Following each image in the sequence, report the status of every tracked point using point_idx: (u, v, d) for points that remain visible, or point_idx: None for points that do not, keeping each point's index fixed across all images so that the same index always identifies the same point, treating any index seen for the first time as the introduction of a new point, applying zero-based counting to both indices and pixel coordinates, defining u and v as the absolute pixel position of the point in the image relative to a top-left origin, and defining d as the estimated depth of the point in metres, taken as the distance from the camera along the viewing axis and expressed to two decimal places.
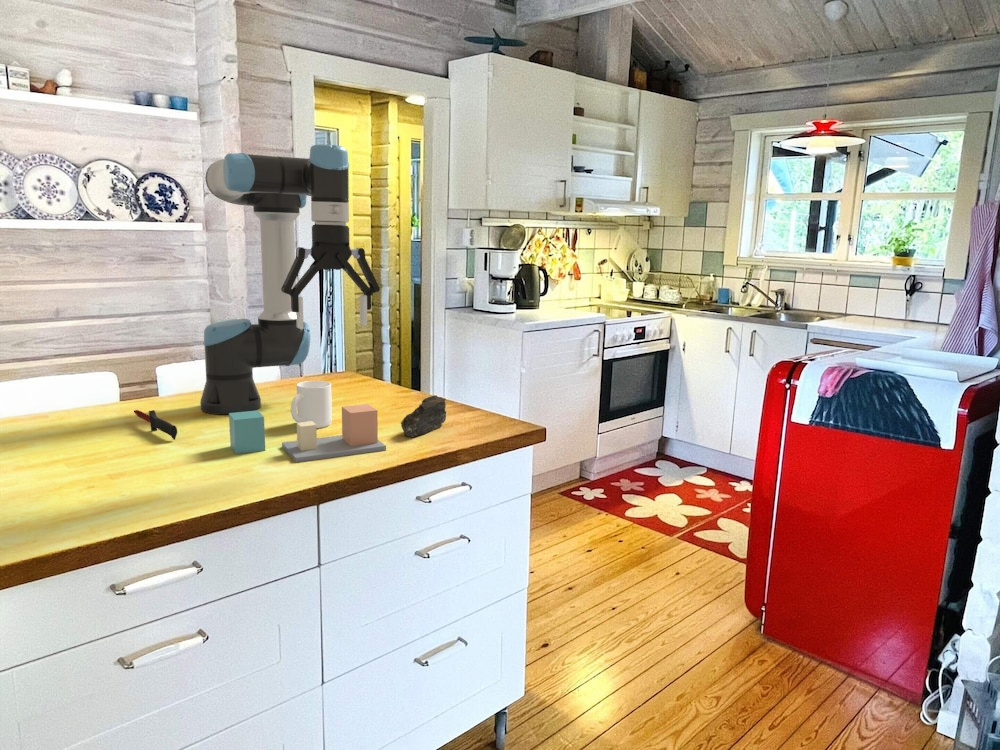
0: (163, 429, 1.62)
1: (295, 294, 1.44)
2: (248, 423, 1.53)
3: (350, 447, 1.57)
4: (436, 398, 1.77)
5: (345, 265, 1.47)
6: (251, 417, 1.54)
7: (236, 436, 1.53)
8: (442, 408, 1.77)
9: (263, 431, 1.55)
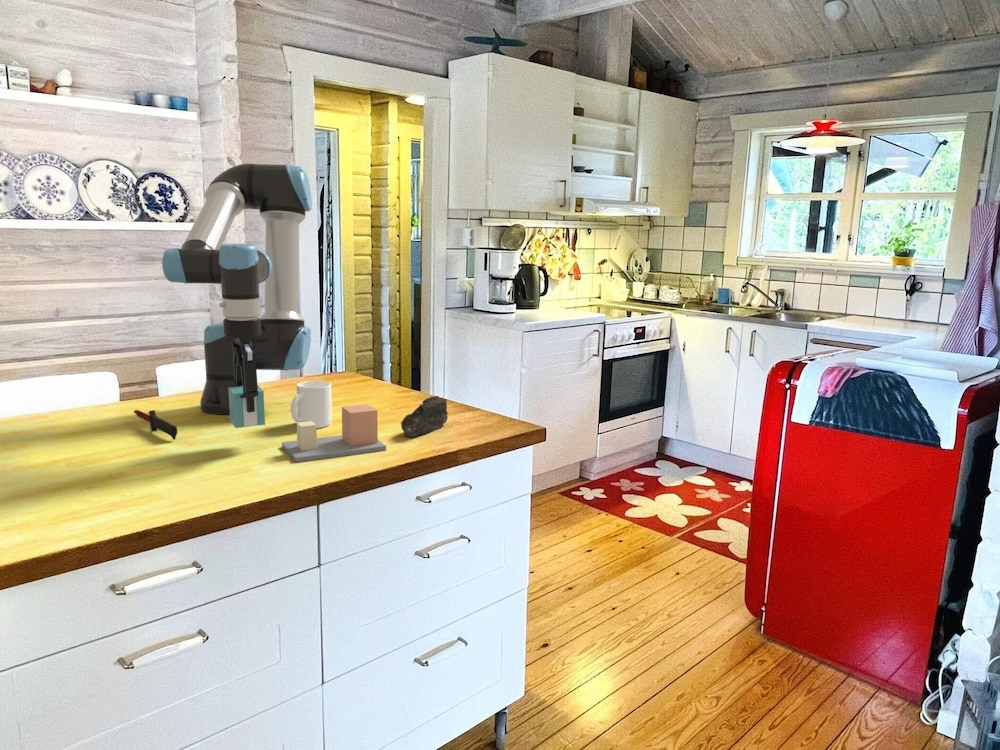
0: (163, 429, 1.62)
1: (235, 386, 1.58)
2: None
3: (350, 447, 1.57)
4: (437, 398, 1.76)
5: (237, 359, 1.51)
6: None
7: (236, 410, 1.52)
8: (443, 409, 1.77)
9: (263, 406, 1.55)
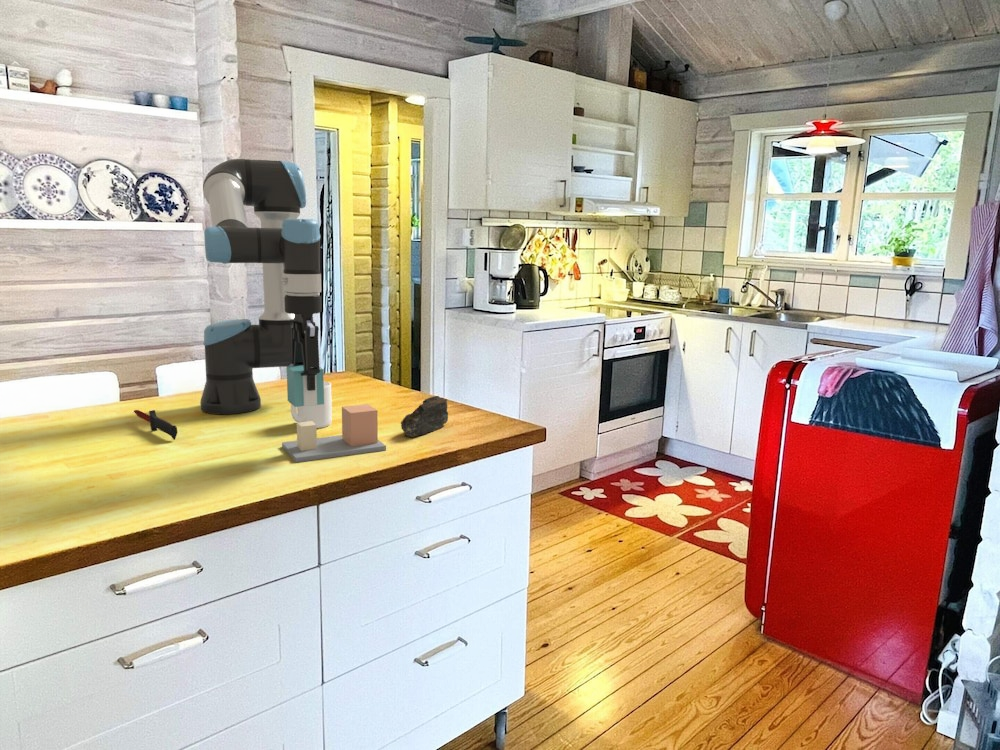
0: (163, 429, 1.62)
1: None
2: None
3: (350, 447, 1.57)
4: (437, 399, 1.76)
5: (298, 336, 1.48)
6: None
7: (295, 388, 1.49)
8: (443, 409, 1.77)
9: (322, 384, 1.51)
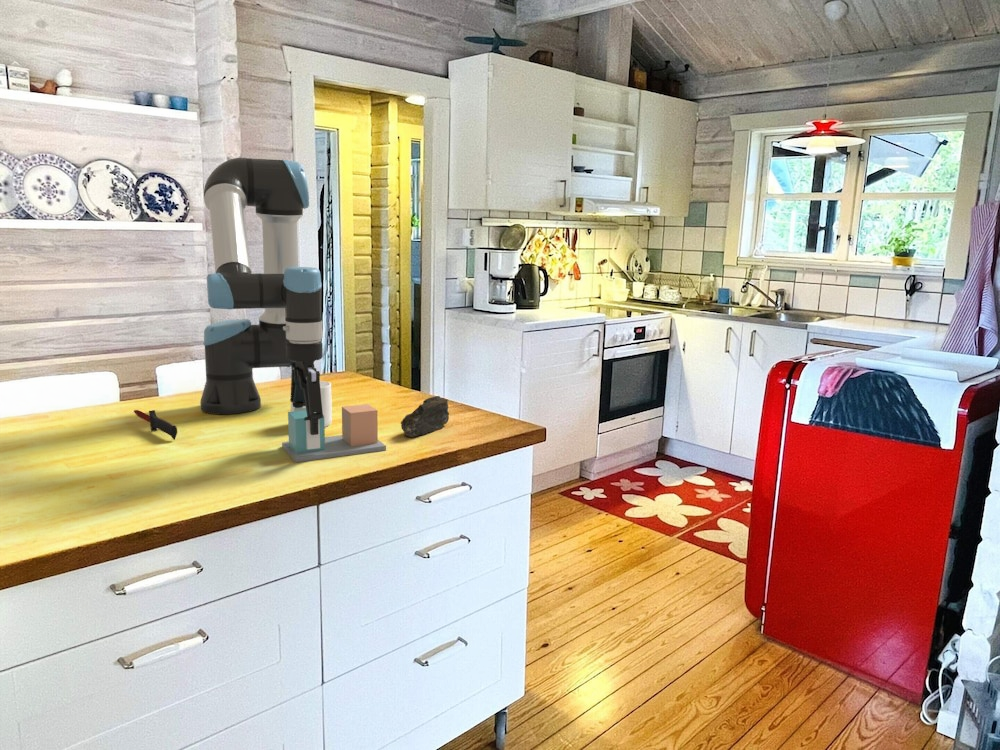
0: (163, 429, 1.62)
1: (293, 405, 1.59)
2: None
3: (350, 447, 1.57)
4: (438, 399, 1.76)
5: (299, 382, 1.50)
6: None
7: (297, 435, 1.51)
8: (444, 409, 1.77)
9: (323, 431, 1.54)
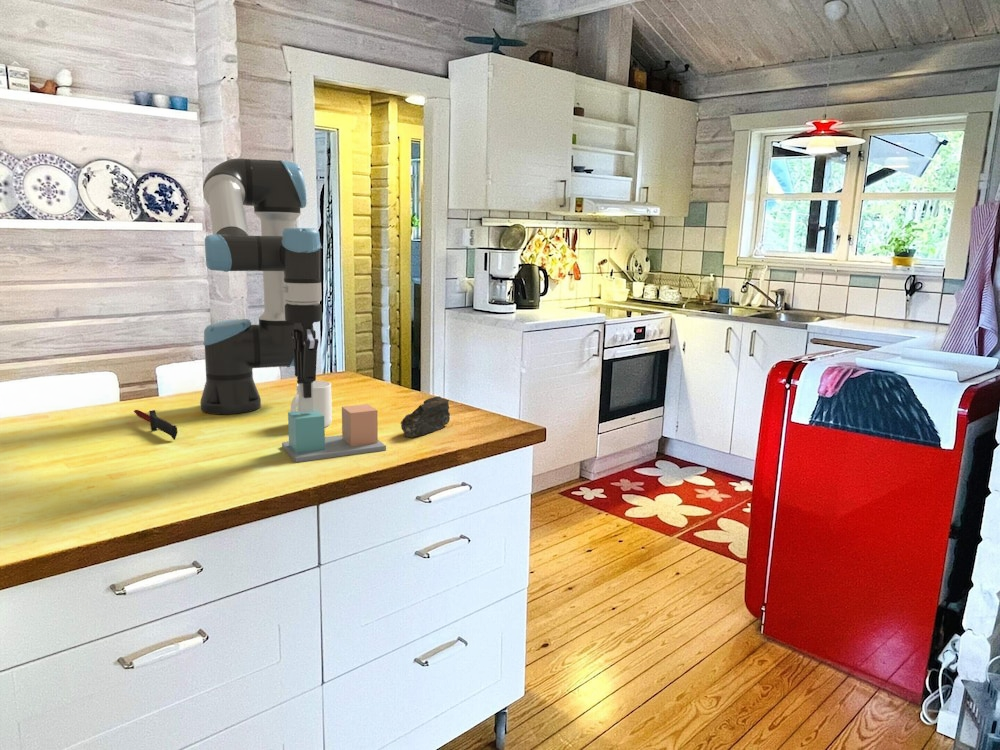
0: (163, 429, 1.62)
1: (297, 379, 1.53)
2: (309, 422, 1.52)
3: (350, 447, 1.57)
4: (439, 399, 1.76)
5: (297, 344, 1.49)
6: (311, 416, 1.53)
7: (297, 435, 1.51)
8: (445, 409, 1.76)
9: (323, 431, 1.54)
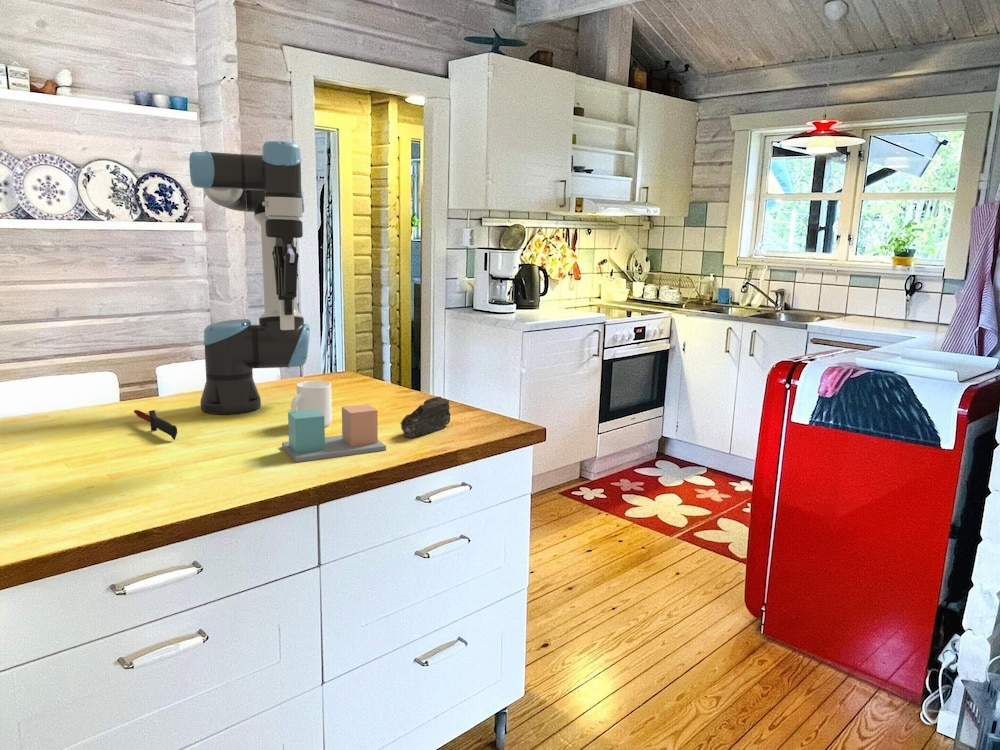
0: (163, 429, 1.62)
1: (278, 296, 1.54)
2: (309, 422, 1.52)
3: (350, 447, 1.57)
4: (439, 399, 1.76)
5: (278, 260, 1.50)
6: (311, 416, 1.53)
7: (297, 435, 1.51)
8: (445, 410, 1.76)
9: (323, 431, 1.54)
